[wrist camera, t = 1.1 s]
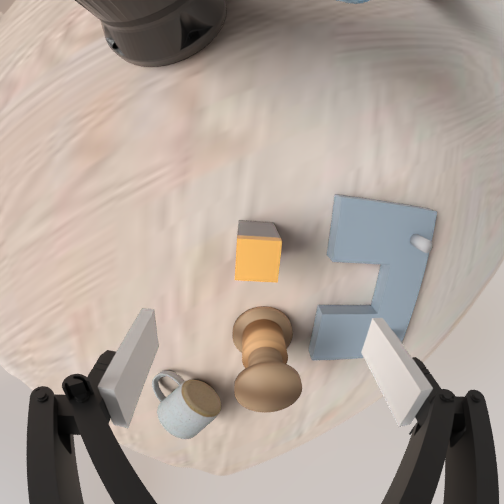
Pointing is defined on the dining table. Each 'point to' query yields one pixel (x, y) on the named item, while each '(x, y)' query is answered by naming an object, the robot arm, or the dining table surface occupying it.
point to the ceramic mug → (186, 406)
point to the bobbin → (265, 361)
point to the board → (390, 274)
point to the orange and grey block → (257, 252)
